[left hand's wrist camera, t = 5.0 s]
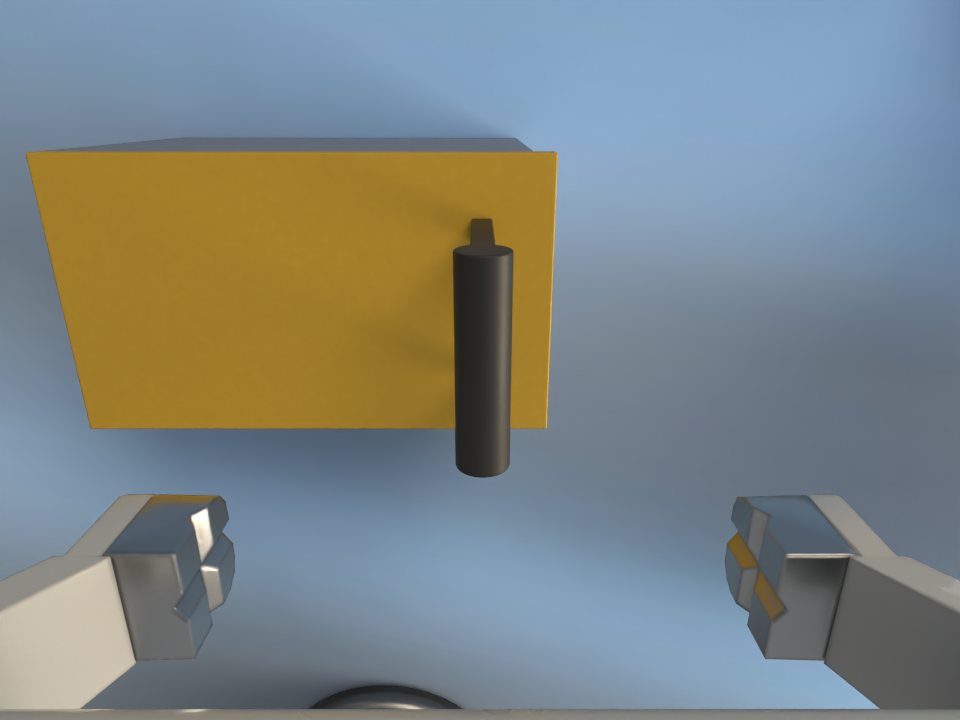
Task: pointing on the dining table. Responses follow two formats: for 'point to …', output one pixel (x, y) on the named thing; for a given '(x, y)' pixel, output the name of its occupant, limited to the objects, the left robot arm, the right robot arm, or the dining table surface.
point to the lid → (307, 289)
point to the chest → (316, 144)
